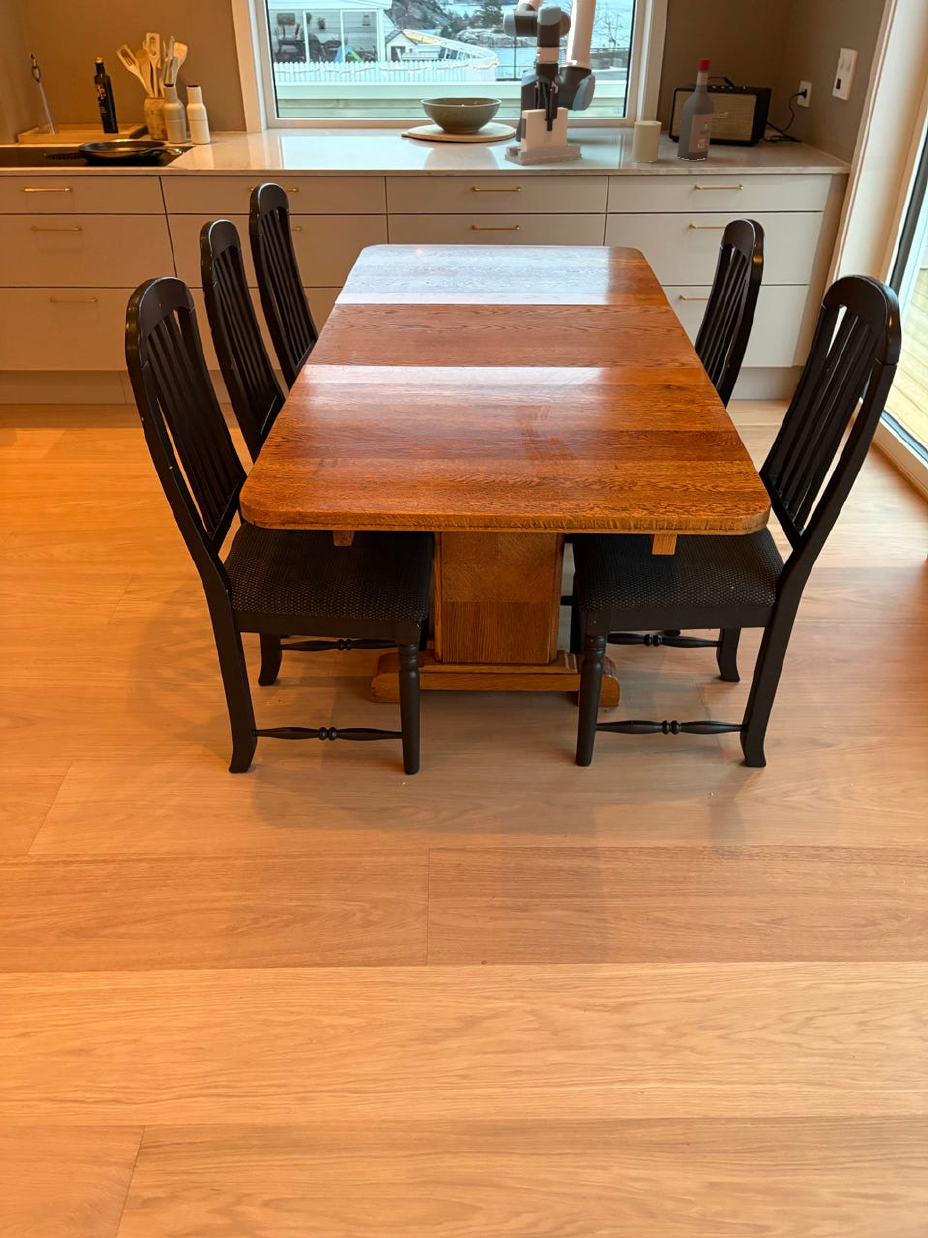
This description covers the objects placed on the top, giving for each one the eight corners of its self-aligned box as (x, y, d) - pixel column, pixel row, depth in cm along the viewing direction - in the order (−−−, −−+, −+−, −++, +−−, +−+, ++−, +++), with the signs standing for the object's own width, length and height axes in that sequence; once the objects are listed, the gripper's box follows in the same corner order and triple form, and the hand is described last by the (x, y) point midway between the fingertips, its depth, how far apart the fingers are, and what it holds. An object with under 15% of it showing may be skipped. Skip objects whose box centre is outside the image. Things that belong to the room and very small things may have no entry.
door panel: (559, 145, 330) (561, 107, 323) (566, 147, 327) (568, 108, 320) (519, 149, 324) (520, 110, 317) (524, 151, 321) (526, 112, 314)
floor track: (563, 152, 336) (563, 140, 334) (581, 158, 328) (582, 145, 325) (504, 158, 327) (504, 146, 325) (522, 165, 319) (522, 152, 316)
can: (651, 163, 321) (655, 124, 314) (626, 160, 325) (630, 121, 318) (661, 158, 327) (666, 120, 320) (637, 156, 331) (641, 117, 324)
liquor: (710, 159, 326) (725, 59, 308) (690, 162, 322) (704, 60, 305) (692, 154, 333) (705, 56, 315) (673, 157, 329) (685, 58, 311)
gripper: (524, 59, 315) (521, 137, 329) (551, 64, 303) (547, 145, 316) (543, 58, 318) (540, 135, 331) (571, 63, 305) (566, 143, 319)
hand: (543, 139), depth 324 cm, fingers closed on door panel, 4 cm apart
